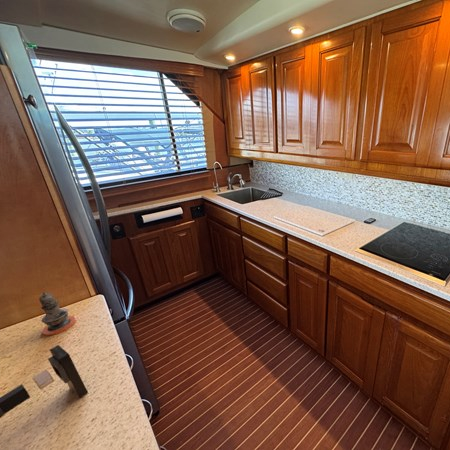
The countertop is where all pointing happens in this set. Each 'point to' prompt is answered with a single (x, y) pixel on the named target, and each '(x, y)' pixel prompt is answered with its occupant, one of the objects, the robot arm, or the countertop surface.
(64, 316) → the grey buddha statue
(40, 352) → the countertop surface
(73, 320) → the coaster
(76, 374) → the flush panel
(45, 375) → the flush button
